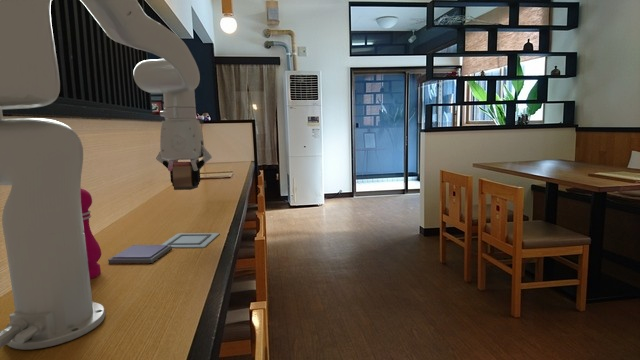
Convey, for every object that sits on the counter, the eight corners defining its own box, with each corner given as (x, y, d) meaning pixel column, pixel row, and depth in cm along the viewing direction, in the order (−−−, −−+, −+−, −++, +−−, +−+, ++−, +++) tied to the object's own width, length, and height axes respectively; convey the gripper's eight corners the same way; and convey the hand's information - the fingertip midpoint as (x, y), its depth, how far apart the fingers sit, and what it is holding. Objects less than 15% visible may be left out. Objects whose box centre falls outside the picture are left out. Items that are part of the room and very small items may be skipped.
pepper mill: (84, 284, 74) (72, 183, 71) (53, 281, 76) (40, 183, 73) (111, 270, 81) (101, 178, 78) (82, 268, 83) (72, 178, 80)
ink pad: (151, 263, 85) (151, 258, 84) (108, 263, 85) (108, 258, 85) (171, 249, 94) (171, 244, 94) (132, 249, 95) (132, 244, 95)
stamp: (191, 189, 97) (189, 162, 96) (173, 189, 97) (172, 162, 96) (198, 187, 101) (196, 161, 101) (181, 187, 102) (179, 161, 101)
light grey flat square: (204, 247, 95) (204, 245, 95) (157, 247, 96) (157, 246, 96) (219, 234, 107) (219, 232, 107) (178, 234, 108) (177, 232, 107)
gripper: (141, 115, 93) (147, 188, 96) (208, 113, 92) (212, 187, 95) (155, 116, 101) (161, 183, 103) (218, 114, 100) (222, 182, 102)
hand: (186, 184), depth 99 cm, fingers closed on stamp, 4 cm apart
